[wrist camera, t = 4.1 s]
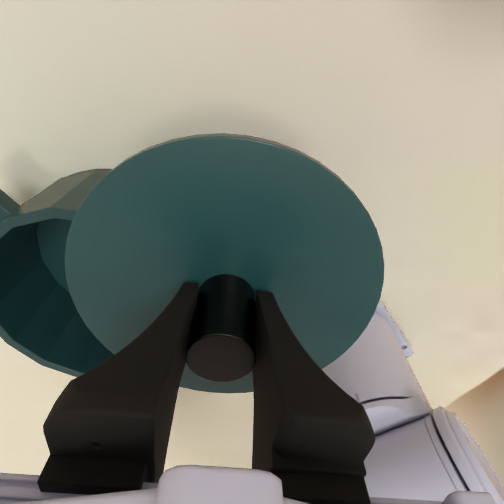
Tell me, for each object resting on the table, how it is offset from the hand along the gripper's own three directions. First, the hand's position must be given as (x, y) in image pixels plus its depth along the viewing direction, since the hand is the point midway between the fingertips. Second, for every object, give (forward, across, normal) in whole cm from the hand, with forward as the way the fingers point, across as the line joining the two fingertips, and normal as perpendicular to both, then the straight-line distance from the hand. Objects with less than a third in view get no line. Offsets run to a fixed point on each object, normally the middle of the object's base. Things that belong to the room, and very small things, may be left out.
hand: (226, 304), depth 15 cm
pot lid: (+1, 0, 0) cm, 1 cm away
